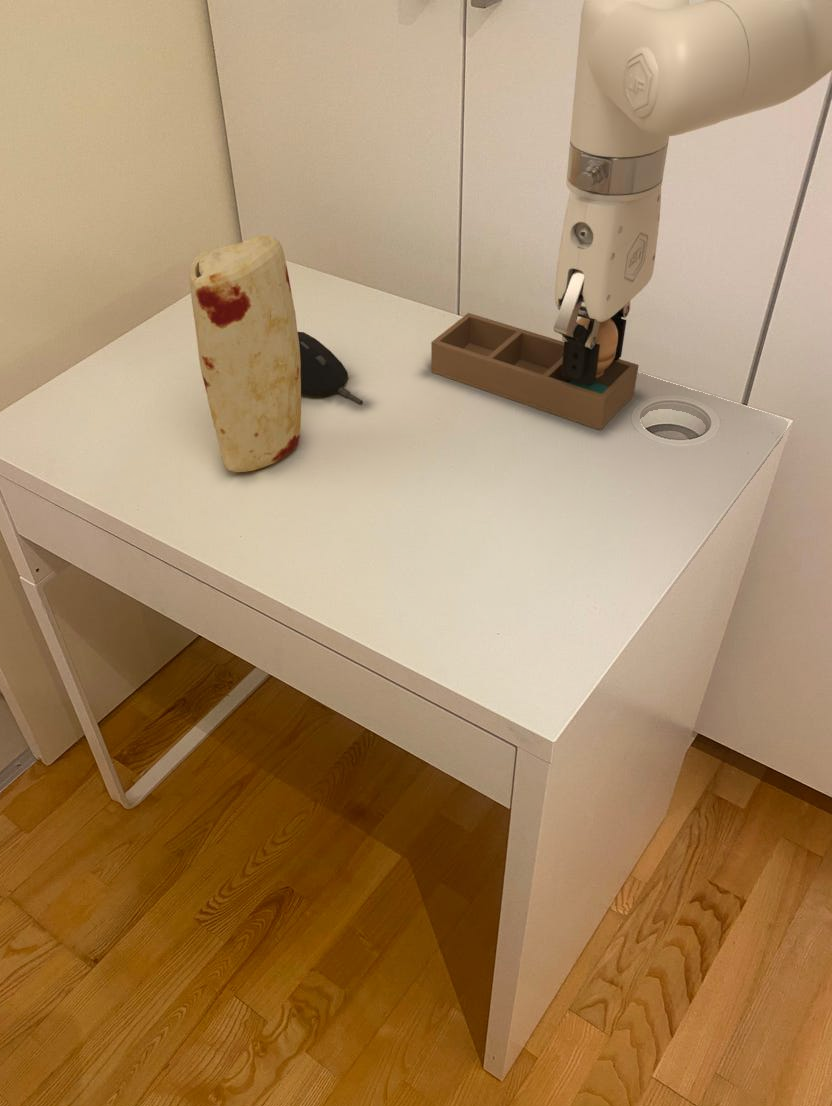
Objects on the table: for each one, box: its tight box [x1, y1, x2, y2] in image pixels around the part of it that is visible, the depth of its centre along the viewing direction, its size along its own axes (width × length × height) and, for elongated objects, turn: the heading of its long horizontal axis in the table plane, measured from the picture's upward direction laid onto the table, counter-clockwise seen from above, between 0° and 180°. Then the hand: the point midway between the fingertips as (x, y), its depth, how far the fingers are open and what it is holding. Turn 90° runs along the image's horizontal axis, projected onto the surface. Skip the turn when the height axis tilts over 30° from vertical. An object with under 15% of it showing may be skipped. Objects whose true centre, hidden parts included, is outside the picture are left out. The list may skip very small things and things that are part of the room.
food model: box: [188, 235, 302, 473], centre depth 85 cm, size 10×7×20 cm
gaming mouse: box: [298, 331, 364, 405], centre depth 99 cm, size 6×15×4 cm, turn 46°
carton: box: [430, 312, 640, 431], centre depth 96 cm, size 7×19×3 cm, turn 52°
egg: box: [576, 317, 618, 378], centre depth 90 cm, size 4×4×6 cm
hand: (591, 366), depth 92 cm, fingers closed on egg, 4 cm apart
